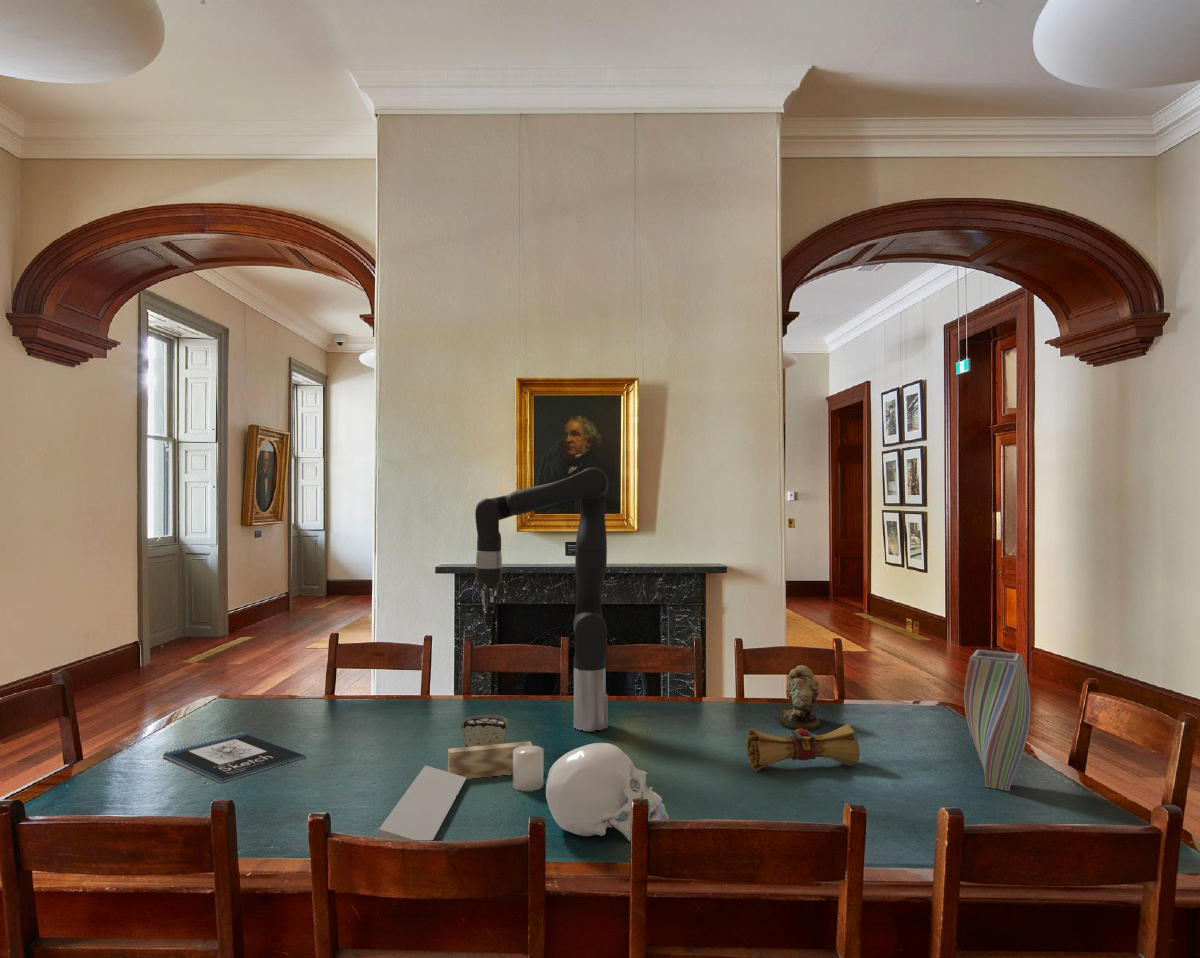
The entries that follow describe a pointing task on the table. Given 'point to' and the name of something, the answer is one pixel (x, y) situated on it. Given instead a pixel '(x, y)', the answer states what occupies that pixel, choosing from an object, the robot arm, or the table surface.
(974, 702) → the vase
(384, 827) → the grey long flat block
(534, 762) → the glossy white cylinder
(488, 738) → the food container
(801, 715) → the stone bust statue
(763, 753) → the scroll
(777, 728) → the table surface
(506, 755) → the light wooden block
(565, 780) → the white human skull
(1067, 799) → the table surface
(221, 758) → the sketchbook
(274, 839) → the table surface
